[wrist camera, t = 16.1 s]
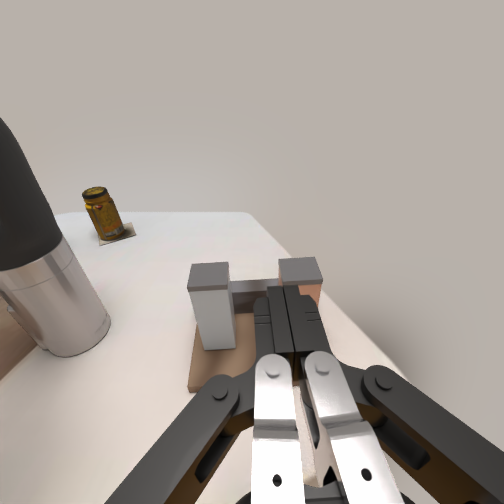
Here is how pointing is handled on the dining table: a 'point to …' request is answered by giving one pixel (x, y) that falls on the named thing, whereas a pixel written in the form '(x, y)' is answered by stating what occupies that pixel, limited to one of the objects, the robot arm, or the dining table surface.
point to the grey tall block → (213, 304)
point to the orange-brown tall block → (301, 275)
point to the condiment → (105, 216)
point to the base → (245, 351)
